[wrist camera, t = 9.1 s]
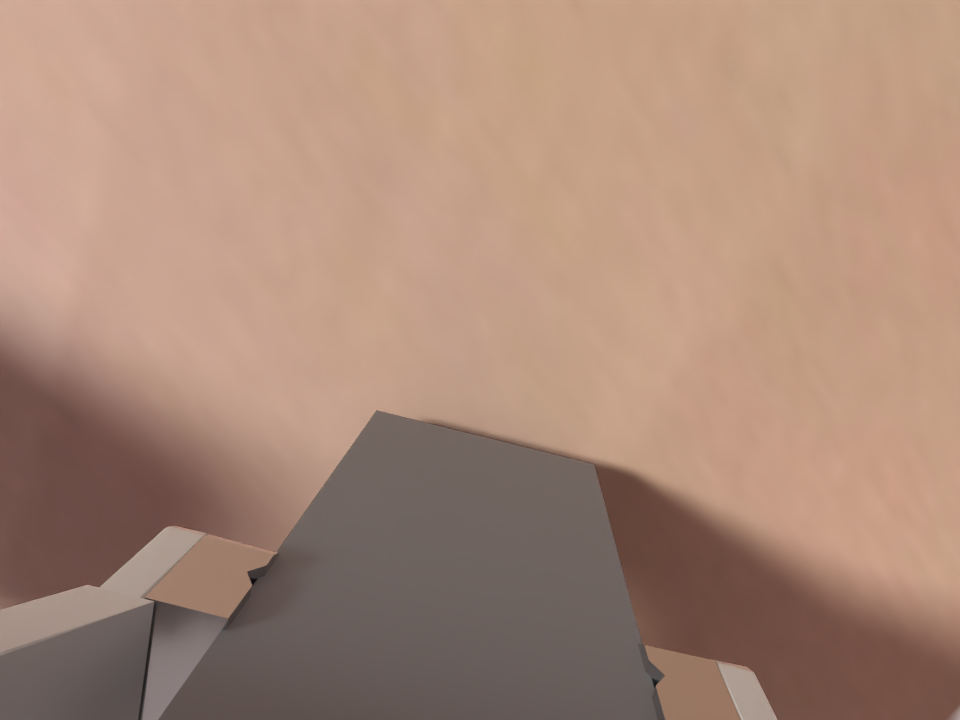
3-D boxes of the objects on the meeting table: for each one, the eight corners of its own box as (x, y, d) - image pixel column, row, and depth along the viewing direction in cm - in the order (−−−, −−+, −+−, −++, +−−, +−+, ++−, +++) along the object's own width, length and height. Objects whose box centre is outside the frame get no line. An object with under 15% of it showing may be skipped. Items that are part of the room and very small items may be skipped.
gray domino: (376, 410, 15) (106, 792, 5) (594, 464, 15) (725, 947, 5) (363, 475, 15) (88, 940, 6) (574, 527, 15) (663, 1087, 6)
